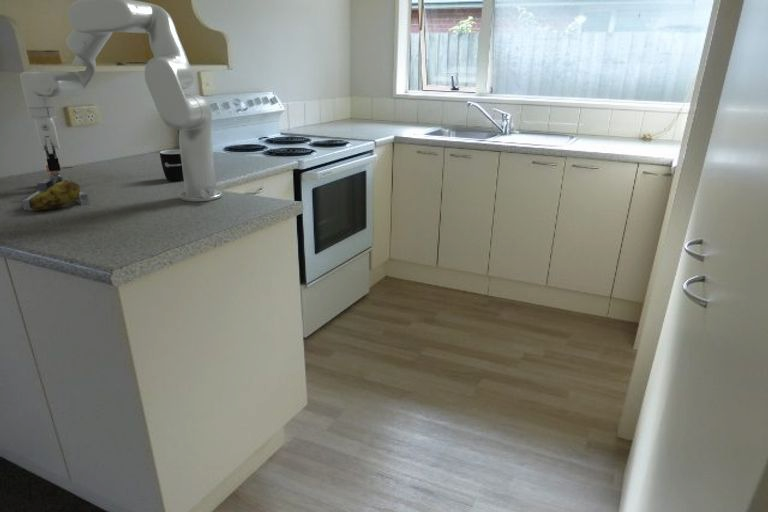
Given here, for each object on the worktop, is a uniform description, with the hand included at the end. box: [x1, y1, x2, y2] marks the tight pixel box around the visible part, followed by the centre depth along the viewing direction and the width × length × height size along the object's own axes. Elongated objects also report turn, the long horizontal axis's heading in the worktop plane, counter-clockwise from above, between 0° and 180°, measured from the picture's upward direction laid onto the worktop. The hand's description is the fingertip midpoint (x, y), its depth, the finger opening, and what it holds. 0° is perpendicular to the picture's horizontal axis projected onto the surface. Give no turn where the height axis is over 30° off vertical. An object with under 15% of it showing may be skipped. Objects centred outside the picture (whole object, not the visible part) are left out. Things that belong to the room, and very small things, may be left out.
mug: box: [159, 149, 184, 183], centre depth 188 cm, size 12×9×10 cm
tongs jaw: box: [55, 176, 91, 206], centre depth 164 cm, size 23×2×5 cm, turn 47°
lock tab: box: [45, 162, 62, 173], centre depth 177 cm, size 3×4×2 cm
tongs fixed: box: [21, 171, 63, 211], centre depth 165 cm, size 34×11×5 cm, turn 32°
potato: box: [29, 180, 81, 212], centre depth 151 cm, size 8×13×8 cm, turn 109°
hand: (54, 170), depth 172 cm, fingers closed
